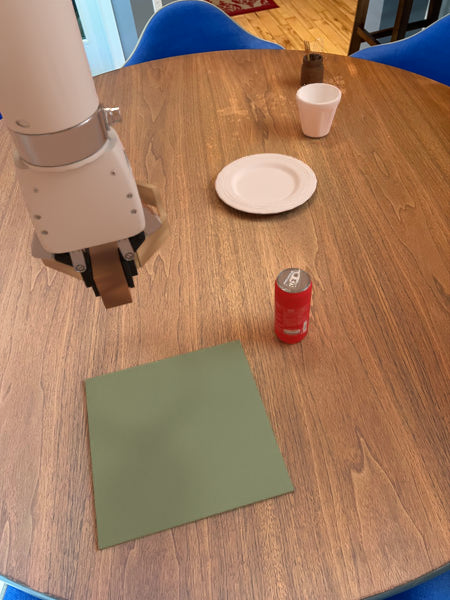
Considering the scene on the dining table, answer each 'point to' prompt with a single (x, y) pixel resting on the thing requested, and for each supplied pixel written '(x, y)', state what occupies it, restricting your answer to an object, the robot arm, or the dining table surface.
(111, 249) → the hoop
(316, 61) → the utensil holder
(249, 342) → the dining table surface
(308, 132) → the cup
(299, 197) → the plate
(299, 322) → the beverage can
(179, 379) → the mat
